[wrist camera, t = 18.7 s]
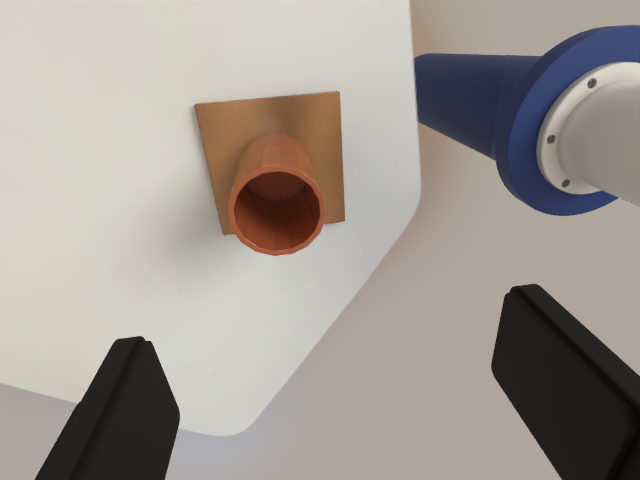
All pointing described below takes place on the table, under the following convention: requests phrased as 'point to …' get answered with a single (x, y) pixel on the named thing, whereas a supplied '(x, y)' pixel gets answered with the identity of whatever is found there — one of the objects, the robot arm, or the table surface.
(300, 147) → the tumbler
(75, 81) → the table surface
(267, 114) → the cork mat
